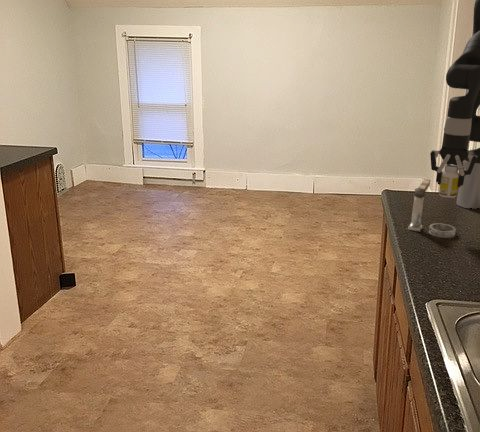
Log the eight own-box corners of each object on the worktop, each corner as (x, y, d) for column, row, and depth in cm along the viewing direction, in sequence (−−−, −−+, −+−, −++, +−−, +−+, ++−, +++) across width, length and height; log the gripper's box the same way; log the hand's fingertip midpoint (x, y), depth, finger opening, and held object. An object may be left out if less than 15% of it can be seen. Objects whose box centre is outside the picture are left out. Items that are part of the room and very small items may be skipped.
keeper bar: (423, 197, 181) (424, 191, 180) (413, 196, 182) (414, 190, 181) (431, 185, 194) (432, 180, 193) (421, 184, 195) (422, 178, 195)
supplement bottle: (456, 194, 180) (461, 164, 177) (456, 199, 175) (461, 168, 172) (438, 192, 182) (443, 162, 179) (438, 197, 177) (442, 166, 174)
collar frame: (411, 224, 191) (415, 192, 187) (456, 231, 185) (461, 198, 181) (406, 231, 184) (410, 198, 180) (453, 239, 178) (458, 205, 174)
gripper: (483, 132, 172) (474, 185, 178) (434, 127, 178) (427, 179, 184) (481, 136, 166) (472, 191, 171) (430, 131, 172) (423, 184, 177)
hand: (449, 185), depth 178 cm, fingers closed on supplement bottle, 5 cm apart
